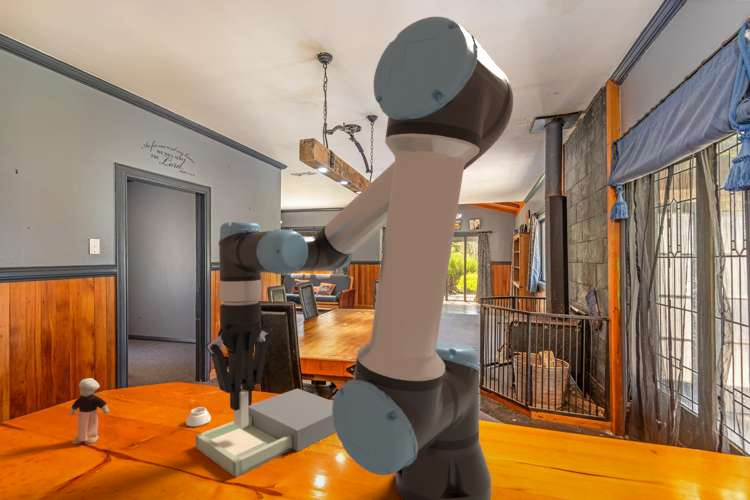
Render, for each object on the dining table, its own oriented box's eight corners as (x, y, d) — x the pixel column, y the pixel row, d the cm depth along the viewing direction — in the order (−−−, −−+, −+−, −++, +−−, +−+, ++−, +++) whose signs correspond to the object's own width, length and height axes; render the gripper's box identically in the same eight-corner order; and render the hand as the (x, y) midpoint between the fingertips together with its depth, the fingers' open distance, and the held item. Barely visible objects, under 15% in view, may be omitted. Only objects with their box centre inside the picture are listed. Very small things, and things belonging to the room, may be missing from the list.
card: (234, 455, 66) (234, 463, 66) (264, 442, 70) (264, 449, 70) (210, 439, 72) (210, 446, 72) (239, 428, 76) (239, 435, 76)
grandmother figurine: (60, 447, 73) (61, 383, 73) (72, 438, 77) (72, 376, 77) (105, 443, 74) (105, 380, 75) (114, 434, 78) (114, 374, 78)
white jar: (215, 420, 85) (199, 416, 87) (215, 407, 85) (199, 404, 87) (198, 429, 80) (181, 426, 82) (198, 416, 80) (180, 412, 82)
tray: (291, 449, 71) (291, 436, 71) (235, 477, 63) (235, 462, 63) (249, 426, 81) (249, 415, 81) (195, 448, 72) (195, 435, 72)
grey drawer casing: (348, 425, 81) (348, 407, 81) (297, 451, 71) (297, 430, 71) (297, 404, 93) (297, 388, 93) (246, 424, 82) (246, 406, 82)
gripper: (259, 297, 79) (260, 408, 79) (197, 304, 69) (198, 431, 69) (280, 300, 74) (281, 418, 74) (217, 307, 64) (218, 444, 64)
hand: (241, 424), depth 72 cm, fingers closed
